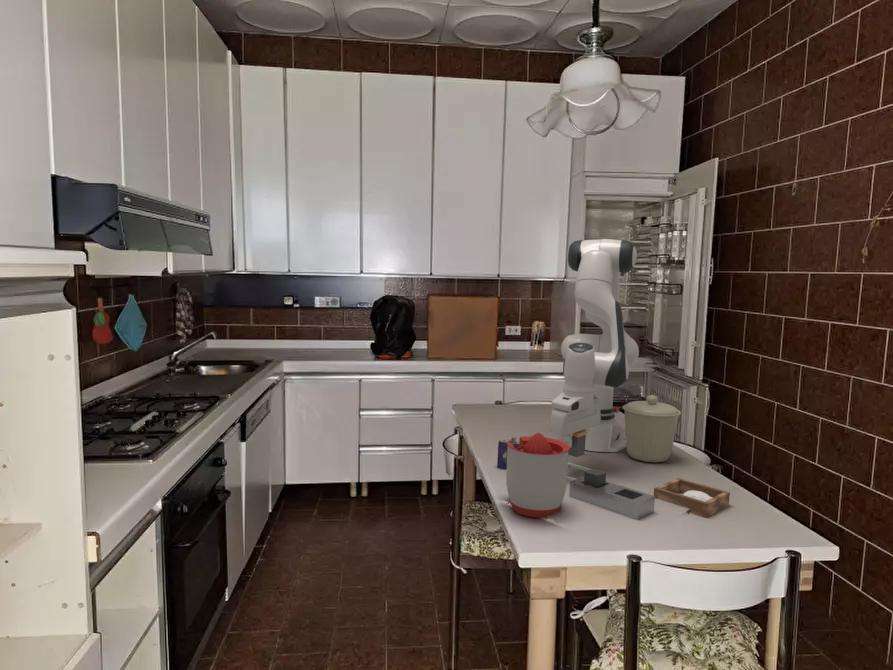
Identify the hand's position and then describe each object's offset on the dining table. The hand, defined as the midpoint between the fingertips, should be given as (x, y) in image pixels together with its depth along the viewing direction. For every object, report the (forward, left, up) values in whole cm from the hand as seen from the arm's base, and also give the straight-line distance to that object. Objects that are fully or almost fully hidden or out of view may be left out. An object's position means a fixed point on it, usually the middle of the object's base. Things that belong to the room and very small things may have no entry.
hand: (575, 445), depth 184 cm
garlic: (-7, +35, -10) cm, 37 cm away
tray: (+1, 0, -9) cm, 9 cm away
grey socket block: (+13, +20, -9) cm, 26 cm away
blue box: (+11, -15, -10) cm, 21 cm away
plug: (0, 0, -3) cm, 3 cm away
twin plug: (+13, +15, -8) cm, 22 cm away
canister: (-35, +4, -10) cm, 37 cm away
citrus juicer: (+30, +8, -10) cm, 32 cm away
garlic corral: (-7, +32, -9) cm, 35 cm away
